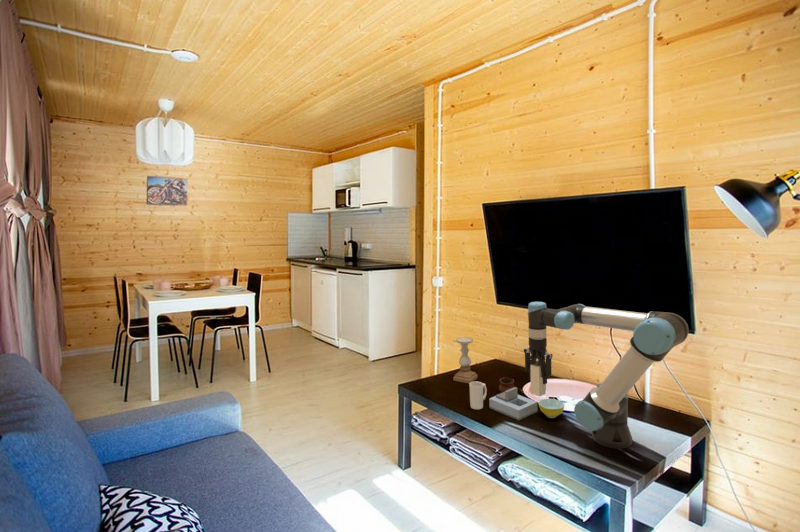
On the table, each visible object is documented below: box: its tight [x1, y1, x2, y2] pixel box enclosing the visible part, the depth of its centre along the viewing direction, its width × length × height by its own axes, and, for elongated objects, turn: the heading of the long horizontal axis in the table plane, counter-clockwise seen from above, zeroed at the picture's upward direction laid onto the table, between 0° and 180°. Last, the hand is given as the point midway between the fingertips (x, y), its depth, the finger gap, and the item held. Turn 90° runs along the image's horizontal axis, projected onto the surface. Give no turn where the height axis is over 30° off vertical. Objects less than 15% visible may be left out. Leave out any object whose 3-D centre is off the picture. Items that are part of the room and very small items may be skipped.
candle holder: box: [452, 336, 479, 384], centre depth 257 cm, size 11×11×24 cm
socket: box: [488, 394, 539, 421], centre depth 214 cm, size 18×14×5 cm
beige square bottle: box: [530, 360, 547, 397], centre depth 193 cm, size 4×4×14 cm
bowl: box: [538, 398, 565, 419], centre depth 206 cm, size 11×12×6 cm
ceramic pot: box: [498, 377, 523, 394], centre depth 236 cm, size 18×18×7 cm
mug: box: [468, 380, 488, 410], centre depth 220 cm, size 10×7×12 cm, turn 120°
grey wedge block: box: [495, 386, 519, 402], centre depth 217 cm, size 8×8×5 cm
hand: (538, 388), depth 194 cm, fingers closed on beige square bottle, 4 cm apart
